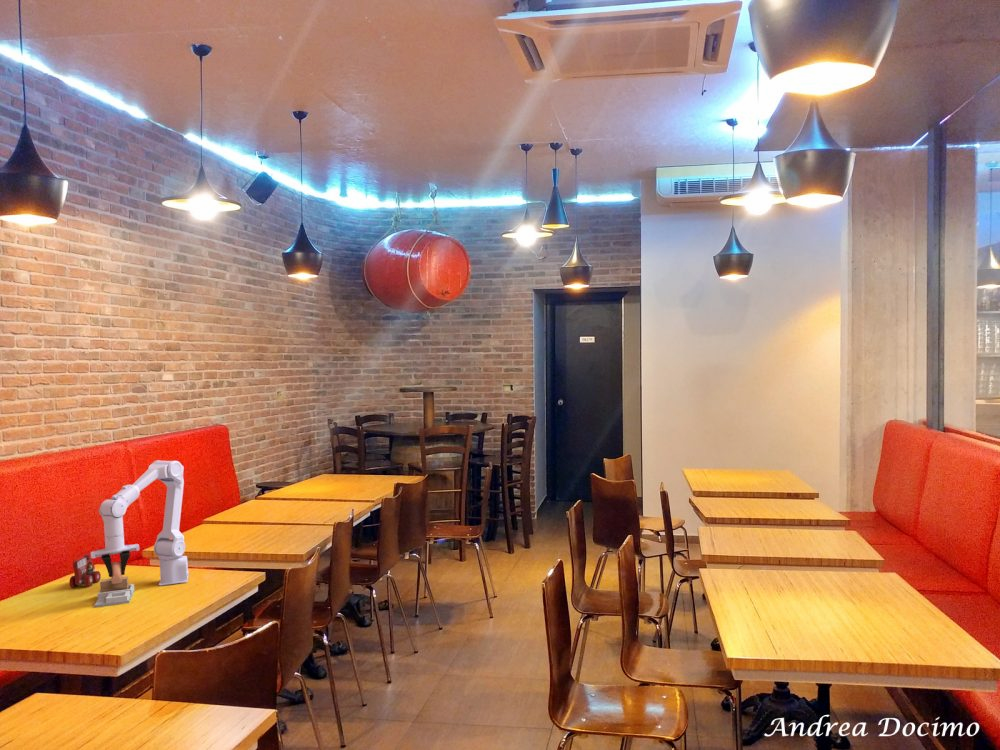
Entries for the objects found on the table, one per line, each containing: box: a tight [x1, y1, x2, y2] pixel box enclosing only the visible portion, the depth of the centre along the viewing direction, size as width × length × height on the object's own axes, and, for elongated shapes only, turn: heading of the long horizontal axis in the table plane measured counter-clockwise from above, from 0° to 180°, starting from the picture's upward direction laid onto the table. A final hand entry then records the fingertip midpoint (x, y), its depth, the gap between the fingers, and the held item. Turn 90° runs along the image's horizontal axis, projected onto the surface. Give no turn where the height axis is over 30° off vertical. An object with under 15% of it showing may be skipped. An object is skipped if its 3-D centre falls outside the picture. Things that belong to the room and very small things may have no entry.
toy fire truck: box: [68, 554, 101, 588], centre depth 285 cm, size 7×12×10 cm, turn 0°
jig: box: [93, 583, 135, 608], centre depth 266 cm, size 10×14×3 cm
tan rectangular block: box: [99, 576, 130, 593], centre depth 269 cm, size 8×3×5 cm, turn 108°
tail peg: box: [110, 561, 123, 584], centre depth 262 cm, size 3×3×6 cm
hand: (116, 575), depth 262 cm, fingers closed on tail peg, 3 cm apart
